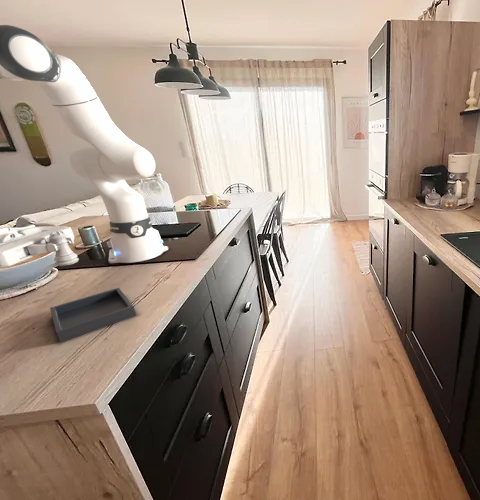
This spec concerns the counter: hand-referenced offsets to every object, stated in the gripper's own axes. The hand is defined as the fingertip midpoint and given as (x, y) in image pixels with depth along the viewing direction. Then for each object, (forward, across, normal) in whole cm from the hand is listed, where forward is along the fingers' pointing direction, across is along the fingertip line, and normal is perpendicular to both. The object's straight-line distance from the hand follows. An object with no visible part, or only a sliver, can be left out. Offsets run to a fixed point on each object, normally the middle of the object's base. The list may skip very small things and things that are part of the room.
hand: (64, 244), depth 71 cm
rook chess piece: (-1, 0, +5) cm, 5 cm away
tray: (+7, -8, +16) cm, 19 cm away
